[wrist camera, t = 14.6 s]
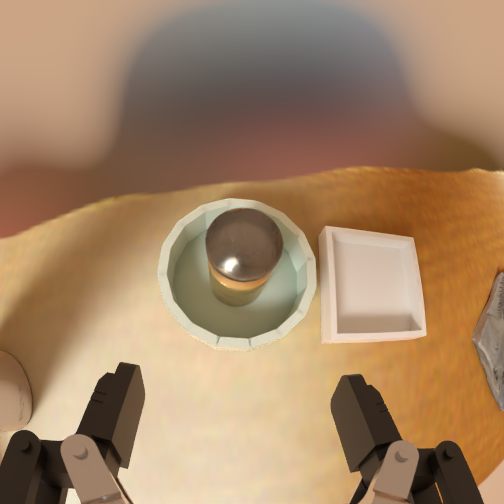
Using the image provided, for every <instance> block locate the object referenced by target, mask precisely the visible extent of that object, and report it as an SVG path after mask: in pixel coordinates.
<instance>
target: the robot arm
mask: <svg viewBox="0 0 504 504" xmlns="http://www.w3.org/2000/svg"><path fill="white" fill-rule="evenodd" d="M90 399H91V400H90V401H89V403H88V406H87V408H86V410H85V413H84V415H83V418H82V420H81V422H80V425H79V427H78V430H77V432H76V433H75V434H74V435H71V436H69V437H67V438H66V439H65V440H63V441H51V440H39V438H38V437H37V436H36V435H35V434H34V433H33V432H31V431H28V430H21V431H18V432H16V433H15V434H14V435H13V436H12V437H11V439H10V442H9V444H8V447H7V449H6V452H5V455H4V457H3V460H2V463H1V466H0V504H65V502H66V497H67V492H68V488H73V489H75V490H76V492H77V495H78V497H79V499H80V501H81V504H134V503H133V501H132V500H131V498H130V496H129V495H128V493H127V491H126V490H125V488H124V486H123V485H122V483H121V481H120V479H119V478H118V471H119V467H122V468H127V469H128V466H129V462H130V457H131V453H132V449H133V445H134V440H135V436H136V432H137V428H138V424H139V420H140V417H141V413H142V409H143V405H144V400H145V389H144V384H143V379H142V375H141V370H140V366H139V365H135V364H129V363H124V362H120V363H119V365H118V367H117V369H116V372H115V374H113V373H108V372H107V373H106V374H105V375H104V376H103V377H102V378H101V379H99V380H98V383H97V385H96V387H95V389H94V393H93V394H92V396H91V398H90ZM331 412H332V415H333V418H334V421H335V425H336V428H337V431H338V434H339V437H340V440H341V444H342V447H343V450H344V453H345V457H346V460H347V463H348V466H349V470H350V473H352V472H356V471H360V473H361V476H360V478H359V479H358V482H357V484H356V486H355V488H354V490H353V492H352V494H351V496H350V498H349V499H348V501H347V503H346V504H442V502H441V499H440V496H439V493H438V490H437V488H436V485H435V483H437V485H438V488H439V491H440V493H441V496H442V499H443V504H484V503H483V500H482V498H481V495H480V492H479V490H478V487H477V485H476V483H475V480H474V478H473V476H472V473H471V471H470V469H469V466H468V464H467V462H466V460H465V458H464V456H463V453H462V451H461V449H460V447H459V446H458V445H457V444H456V443H454V442H452V441H443V442H441V443H440V444H439V445H438V446H437V447H436V448H430V449H418V448H416V447H415V446H414V445H413V444H412V443H410V442H408V441H403V440H402V438H401V436H400V434H399V432H398V430H397V427H396V425H395V423H394V421H393V419H392V417H391V415H390V413H389V412H388V409H387V407H386V405H385V404H384V401H383V399H382V397H381V395H380V393H379V392H378V391H377V390H376V389H375V388H374V387H373V386H372V385H367V384H366V382H365V380H364V378H363V376H362V375H361V374H354V375H343V376H342V377H341V379H340V381H339V383H338V386H337V388H336V390H335V392H334V394H333V396H332V399H331ZM31 413H32V395H31V390H30V385H29V382H28V379H27V377H26V375H25V372H24V370H23V369H22V367H21V365H20V364H19V362H18V361H17V360H16V359H15V358H14V357H13V356H12V355H10V354H9V353H6V352H4V351H0V433H2V432H9V431H15V430H19V429H22V428H24V427H25V426H26V425H27V423H28V421H29V420H30V417H31Z"/></svg>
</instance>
